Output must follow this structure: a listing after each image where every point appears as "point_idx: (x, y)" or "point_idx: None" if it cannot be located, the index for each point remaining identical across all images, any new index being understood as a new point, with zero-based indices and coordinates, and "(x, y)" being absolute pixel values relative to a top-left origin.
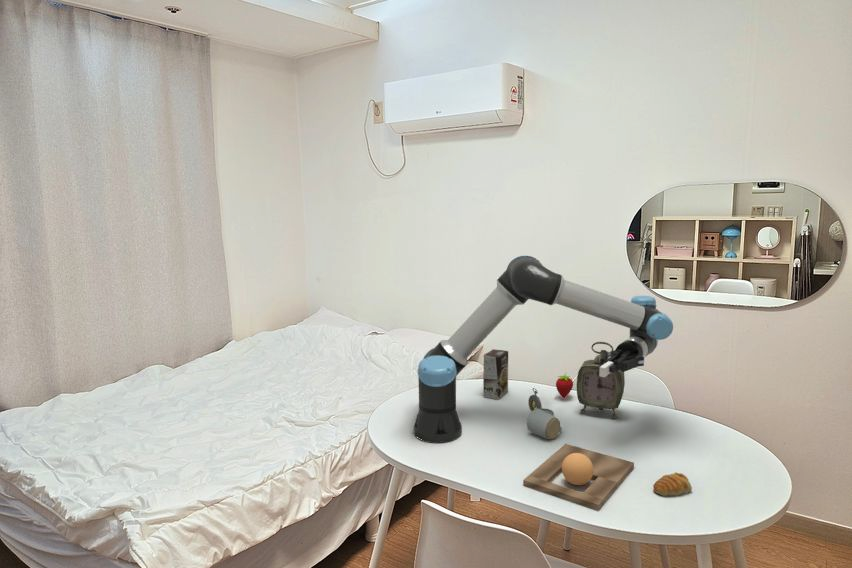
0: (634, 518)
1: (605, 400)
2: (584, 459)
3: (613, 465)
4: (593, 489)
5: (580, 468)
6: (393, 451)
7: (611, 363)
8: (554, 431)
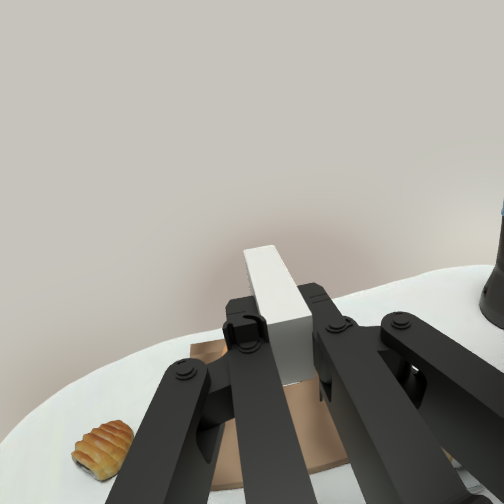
0: (146, 364)
1: None
2: None
3: (222, 448)
4: None
5: None
6: (467, 268)
7: (257, 300)
8: None
